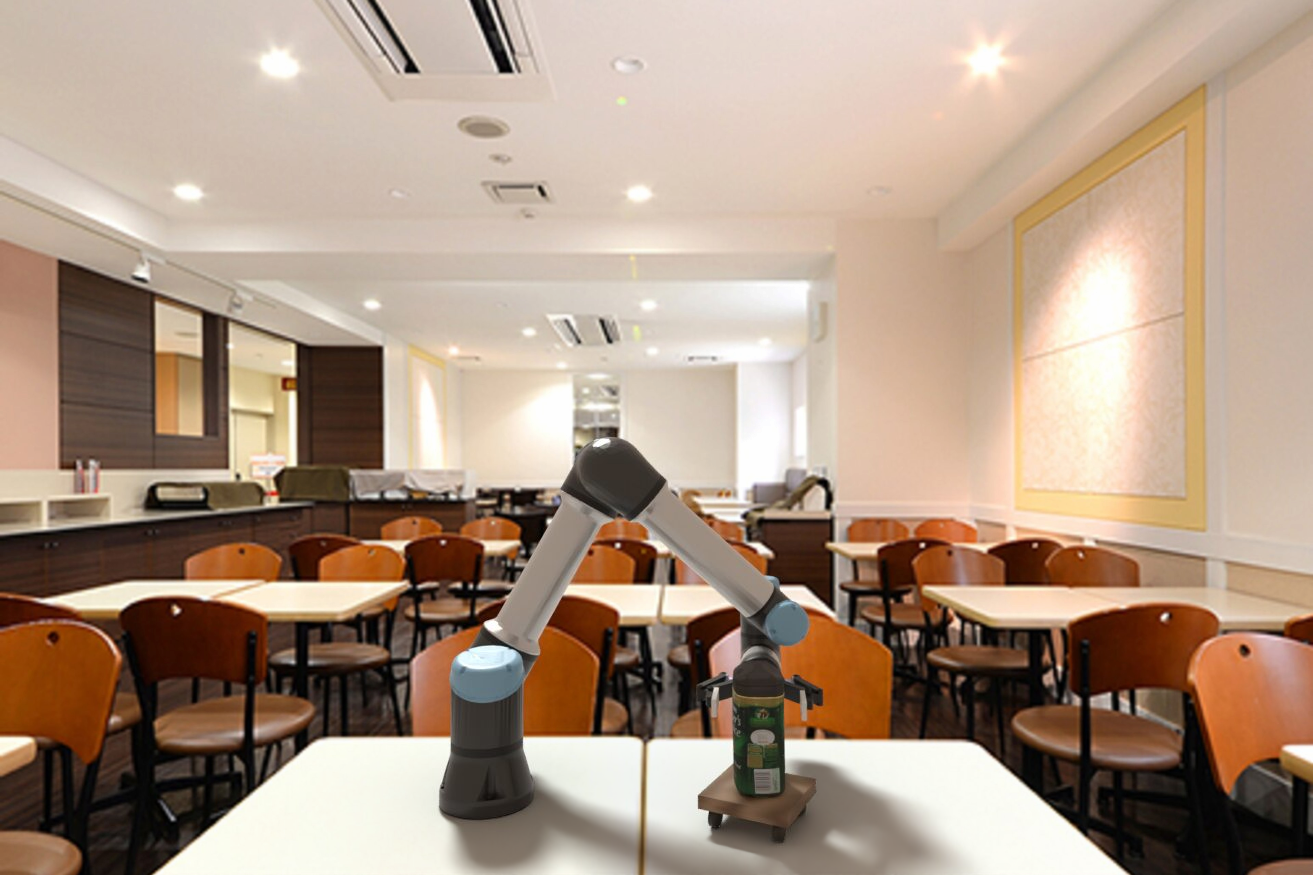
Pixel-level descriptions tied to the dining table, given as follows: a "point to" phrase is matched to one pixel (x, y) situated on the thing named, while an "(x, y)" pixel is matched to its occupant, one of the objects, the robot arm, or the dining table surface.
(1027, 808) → the dining table surface
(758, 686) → the coffee jar
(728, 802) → the caster dolly
